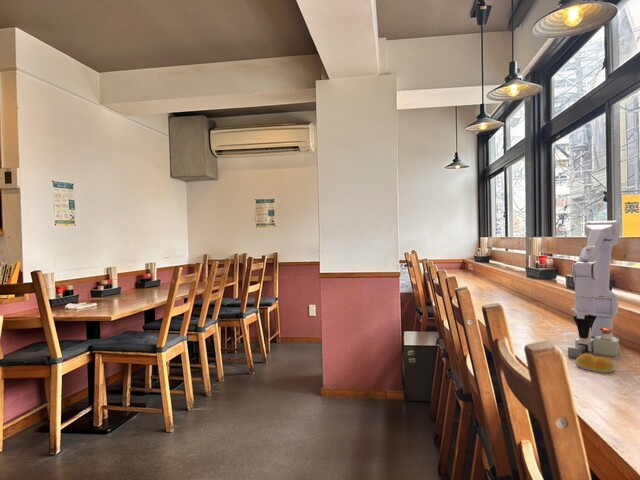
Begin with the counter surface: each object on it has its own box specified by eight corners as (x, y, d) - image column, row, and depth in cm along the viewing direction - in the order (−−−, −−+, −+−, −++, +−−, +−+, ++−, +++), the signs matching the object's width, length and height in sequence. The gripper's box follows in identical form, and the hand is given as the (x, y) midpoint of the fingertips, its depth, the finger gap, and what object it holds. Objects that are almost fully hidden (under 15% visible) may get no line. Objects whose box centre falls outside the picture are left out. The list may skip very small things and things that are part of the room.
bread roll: (610, 376, 110) (610, 361, 110) (573, 367, 116) (573, 354, 116) (618, 369, 115) (618, 355, 115) (582, 362, 122) (582, 349, 122)
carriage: (579, 345, 140) (579, 325, 140) (594, 348, 137) (594, 327, 137) (575, 348, 136) (575, 327, 136) (590, 351, 133) (590, 329, 133)
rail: (583, 343, 144) (583, 334, 144) (595, 345, 141) (596, 336, 141) (567, 357, 126) (568, 347, 126) (581, 359, 124) (581, 349, 124)
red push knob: (600, 343, 134) (601, 327, 134) (613, 344, 132) (613, 328, 132) (599, 345, 132) (599, 328, 132) (611, 346, 130) (611, 330, 130)
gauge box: (596, 349, 136) (596, 335, 136) (618, 352, 132) (618, 338, 132) (593, 352, 132) (593, 338, 132) (616, 356, 128) (616, 342, 128)
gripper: (576, 293, 144) (575, 331, 144) (566, 298, 134) (566, 339, 134) (599, 295, 139) (599, 335, 139) (591, 300, 129) (591, 342, 129)
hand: (584, 337), depth 136 cm, fingers closed on carriage, 3 cm apart
